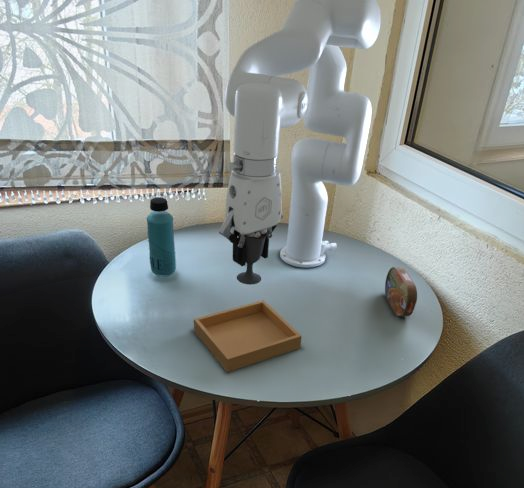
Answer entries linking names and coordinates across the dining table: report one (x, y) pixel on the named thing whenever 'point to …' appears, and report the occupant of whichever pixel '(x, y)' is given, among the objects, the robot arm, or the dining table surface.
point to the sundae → (252, 255)
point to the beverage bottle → (161, 238)
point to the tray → (246, 335)
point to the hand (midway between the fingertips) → (250, 258)
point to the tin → (400, 292)
